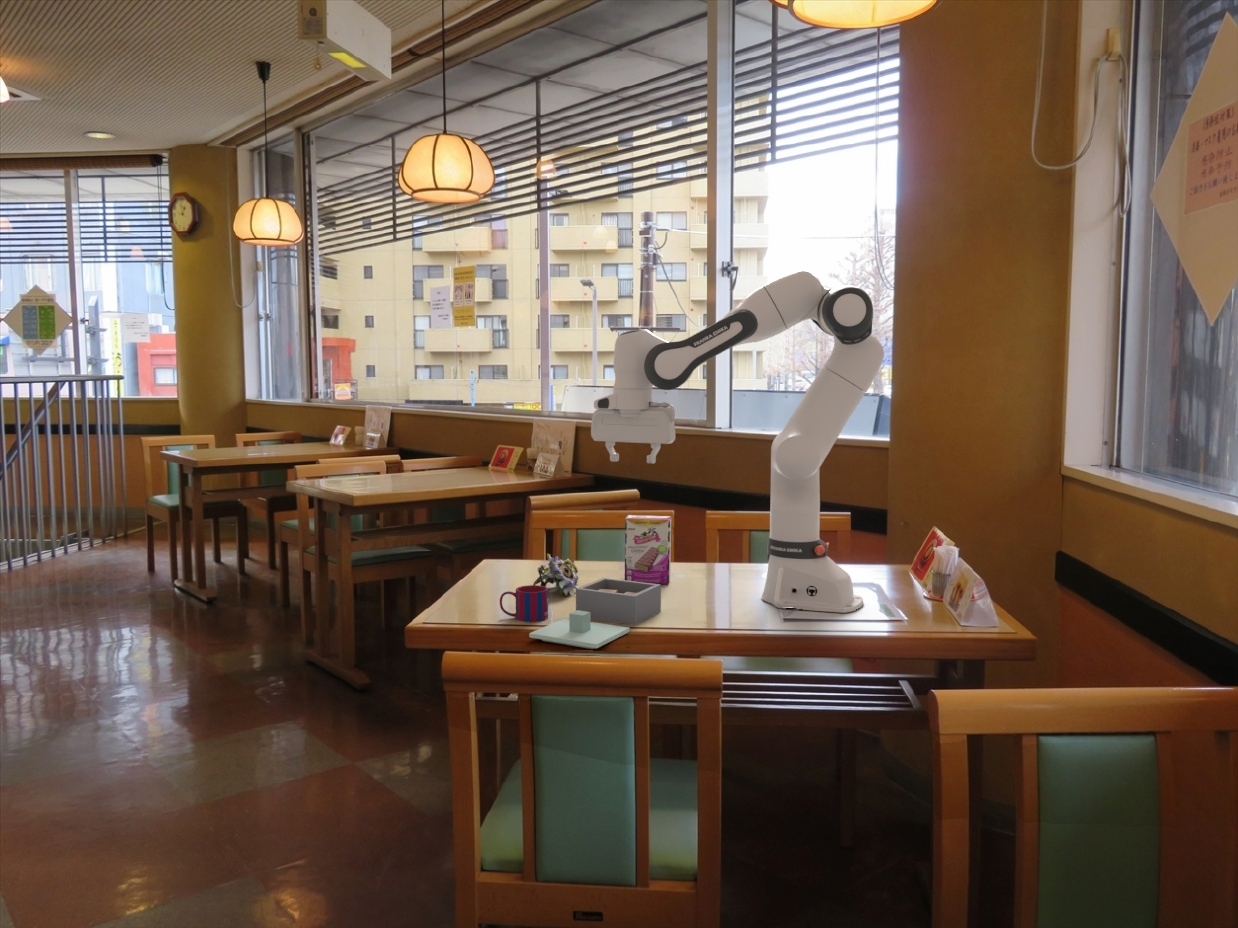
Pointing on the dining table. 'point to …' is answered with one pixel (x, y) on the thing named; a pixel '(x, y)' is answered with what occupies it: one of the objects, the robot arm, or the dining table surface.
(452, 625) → the dining table surface
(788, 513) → the robot arm
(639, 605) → the box
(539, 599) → the mug
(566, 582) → the passion flower
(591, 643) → the lid
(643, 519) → the candy bar box
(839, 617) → the dining table surface
